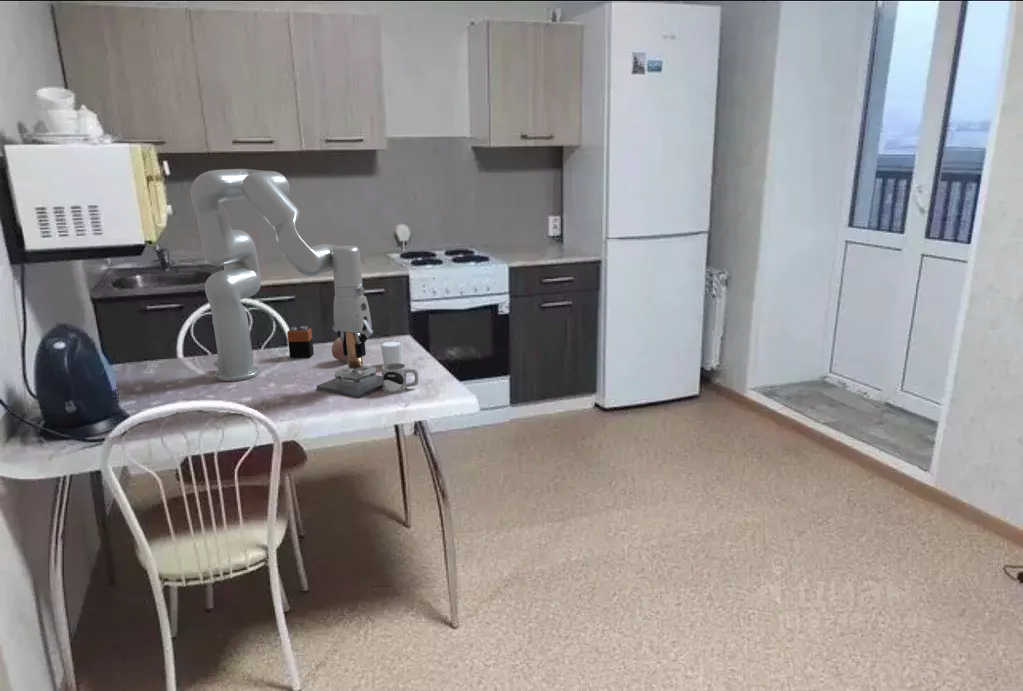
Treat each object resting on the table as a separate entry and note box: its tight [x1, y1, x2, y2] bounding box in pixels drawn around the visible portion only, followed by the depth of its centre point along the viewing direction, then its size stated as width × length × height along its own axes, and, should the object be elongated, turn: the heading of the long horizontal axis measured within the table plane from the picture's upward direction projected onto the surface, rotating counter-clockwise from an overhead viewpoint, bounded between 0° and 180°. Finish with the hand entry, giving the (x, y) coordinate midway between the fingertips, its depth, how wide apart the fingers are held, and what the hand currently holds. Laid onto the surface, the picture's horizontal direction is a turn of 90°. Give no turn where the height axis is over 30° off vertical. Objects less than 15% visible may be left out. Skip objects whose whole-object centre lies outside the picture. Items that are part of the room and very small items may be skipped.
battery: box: [287, 325, 315, 359], centre depth 229 cm, size 4×7×10 cm, turn 89°
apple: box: [331, 337, 348, 362], centre depth 223 cm, size 8×8×8 cm
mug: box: [381, 363, 419, 394], centre depth 197 cm, size 10×7×7 cm, turn 91°
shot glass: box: [380, 340, 404, 365], centre depth 219 cm, size 7×7×7 cm
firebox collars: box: [316, 364, 383, 399], centre depth 201 cm, size 16×15×5 cm
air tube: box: [345, 331, 364, 368], centre depth 198 cm, size 4×4×11 cm
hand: (354, 354), depth 199 cm, fingers closed on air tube, 4 cm apart
